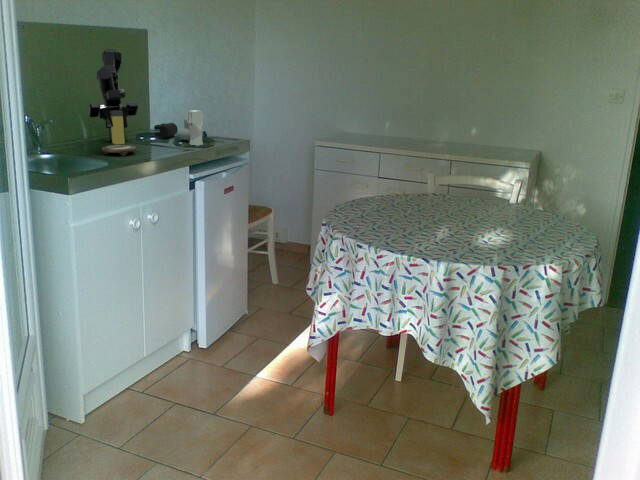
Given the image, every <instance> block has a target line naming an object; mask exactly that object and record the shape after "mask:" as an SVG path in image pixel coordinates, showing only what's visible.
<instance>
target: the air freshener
mask: <svg viewBox="0 0 640 480" xmlns="http://www.w3.org/2000/svg"><path fill="white" fill-rule="evenodd" d="M183 123H184V124H183V125H184V126H183V128H182V129H180V130H179V132H178V133H179V134H178V136H179V137H180V139H181V140H183V139H189V140H190V134H189V129H188V123H187V118H184V119H183ZM203 137H204V132H203V131H202V138H203Z"/></svg>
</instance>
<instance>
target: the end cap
mask: <svg viewBox="0 0 640 480" xmlns="http://www.w3.org/2000/svg"><path fill="white" fill-rule="evenodd" d="M153 129H154V130H156V131H158V132H154V136H155V138H158V139H157V140H166V139H169V138H172V137H174V136H175V135H176V134H177V133H178V125H177V124H175V123H174V122H169V123H160V124H156V125H154V127H153Z"/></svg>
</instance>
